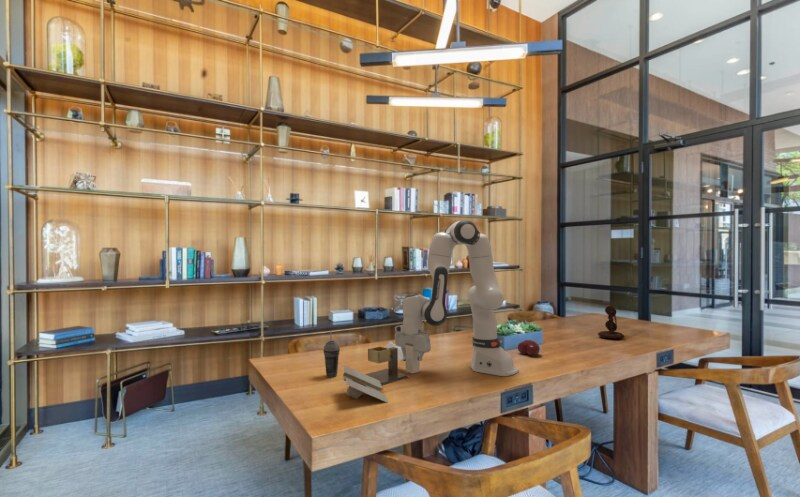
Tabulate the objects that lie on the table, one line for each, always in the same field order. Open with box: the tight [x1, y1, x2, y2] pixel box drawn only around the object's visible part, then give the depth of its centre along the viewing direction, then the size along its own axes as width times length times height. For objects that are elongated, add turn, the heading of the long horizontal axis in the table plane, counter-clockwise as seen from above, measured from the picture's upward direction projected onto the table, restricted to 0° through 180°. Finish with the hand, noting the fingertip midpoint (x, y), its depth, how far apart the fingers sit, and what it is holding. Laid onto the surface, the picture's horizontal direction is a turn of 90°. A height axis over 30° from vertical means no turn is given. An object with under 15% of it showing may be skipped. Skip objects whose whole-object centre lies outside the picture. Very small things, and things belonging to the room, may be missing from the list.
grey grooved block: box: [342, 364, 389, 403], centre depth 152 cm, size 19×10×17 cm
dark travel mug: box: [322, 330, 340, 379], centre depth 177 cm, size 7×7×20 cm
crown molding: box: [384, 341, 406, 362], centre depth 219 cm, size 31×12×4 cm, turn 17°
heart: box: [517, 339, 541, 357], centre depth 213 cm, size 12×8×10 cm
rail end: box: [405, 343, 421, 374], centre depth 184 cm, size 5×5×13 cm
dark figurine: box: [597, 305, 625, 341], centre depth 254 cm, size 15×15×20 cm
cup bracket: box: [364, 346, 409, 386], centre depth 175 cm, size 14×16×13 cm
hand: (412, 358), depth 184 cm, fingers open, 8 cm apart
